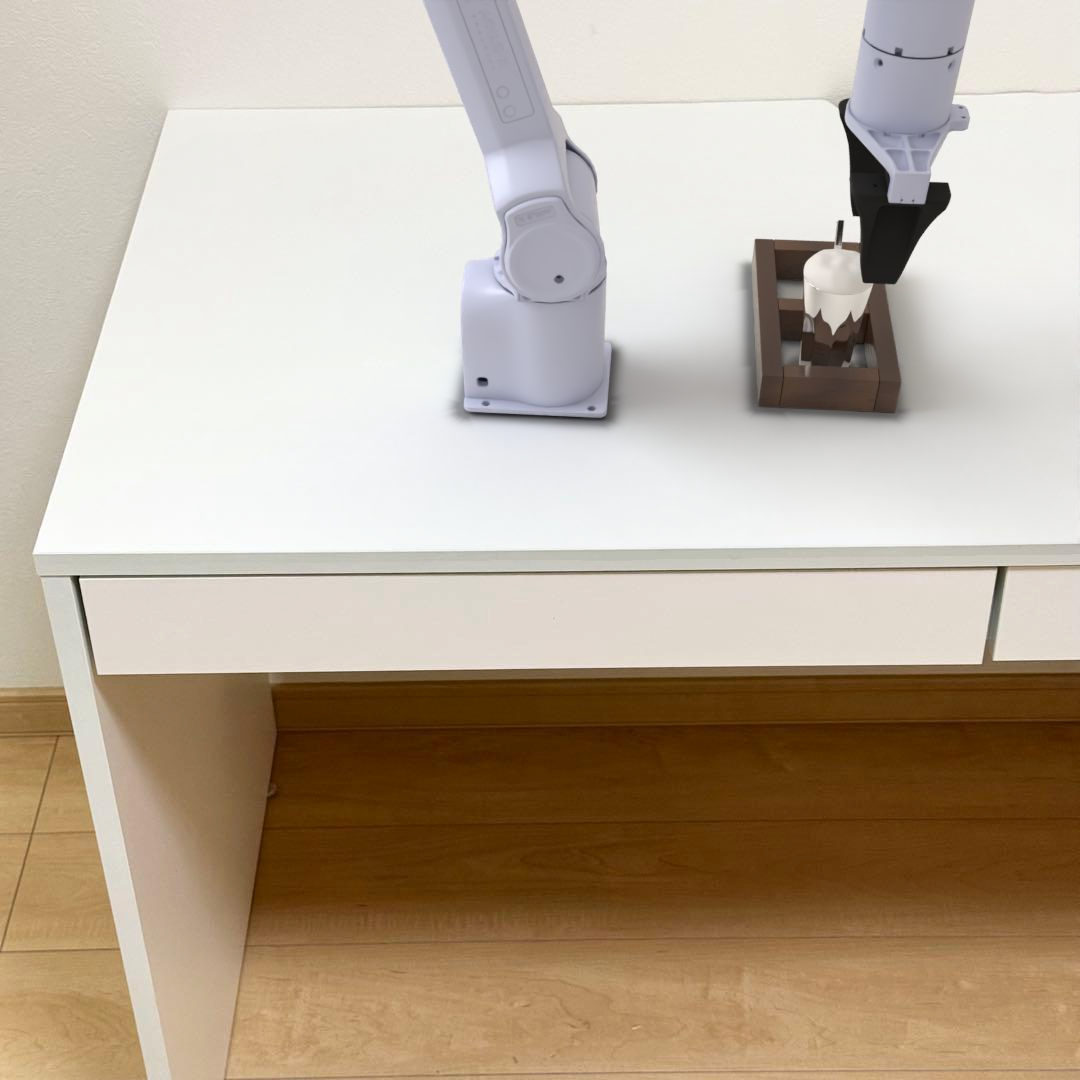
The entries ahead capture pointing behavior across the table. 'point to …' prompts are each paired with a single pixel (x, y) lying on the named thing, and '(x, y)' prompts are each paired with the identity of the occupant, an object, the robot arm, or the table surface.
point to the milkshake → (832, 305)
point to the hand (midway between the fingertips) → (873, 246)
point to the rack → (784, 323)
